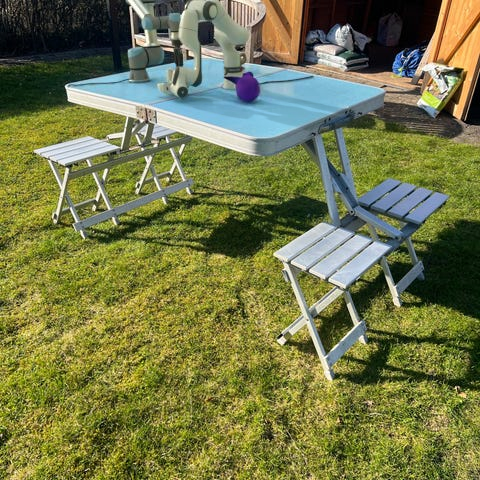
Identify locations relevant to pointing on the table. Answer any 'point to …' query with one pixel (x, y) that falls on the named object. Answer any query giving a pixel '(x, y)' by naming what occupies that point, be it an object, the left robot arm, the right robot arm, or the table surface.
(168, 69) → the cream long cylinder
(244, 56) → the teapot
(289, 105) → the table surface
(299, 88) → the table surface
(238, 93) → the toy
